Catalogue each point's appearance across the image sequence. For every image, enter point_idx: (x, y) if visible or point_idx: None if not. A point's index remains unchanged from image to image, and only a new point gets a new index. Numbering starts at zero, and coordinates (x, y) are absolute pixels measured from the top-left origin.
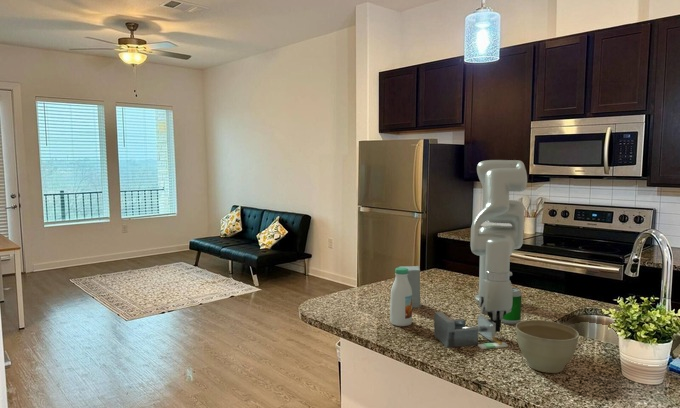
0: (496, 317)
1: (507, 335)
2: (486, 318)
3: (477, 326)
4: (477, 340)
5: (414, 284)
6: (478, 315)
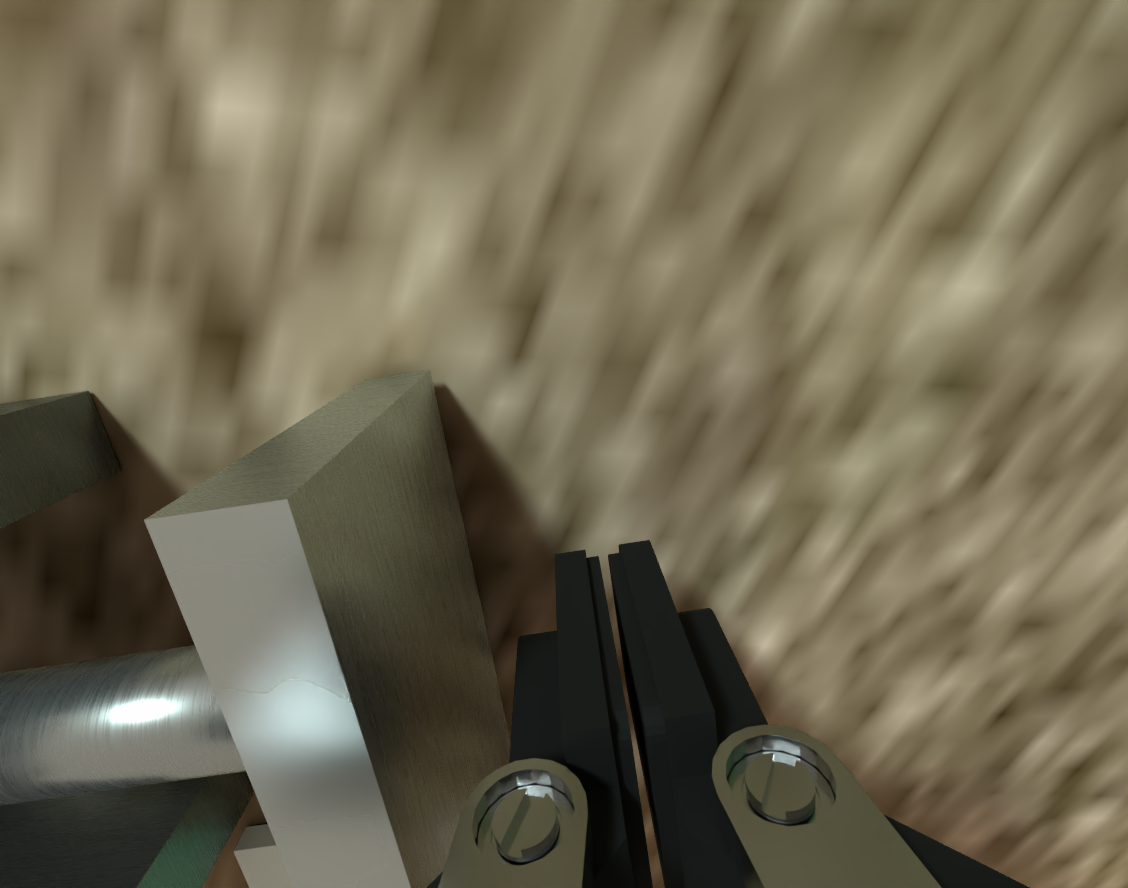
0: (689, 869)
1: (818, 518)
2: (358, 864)
3: (186, 756)
4: (215, 853)
5: None
6: (169, 537)
